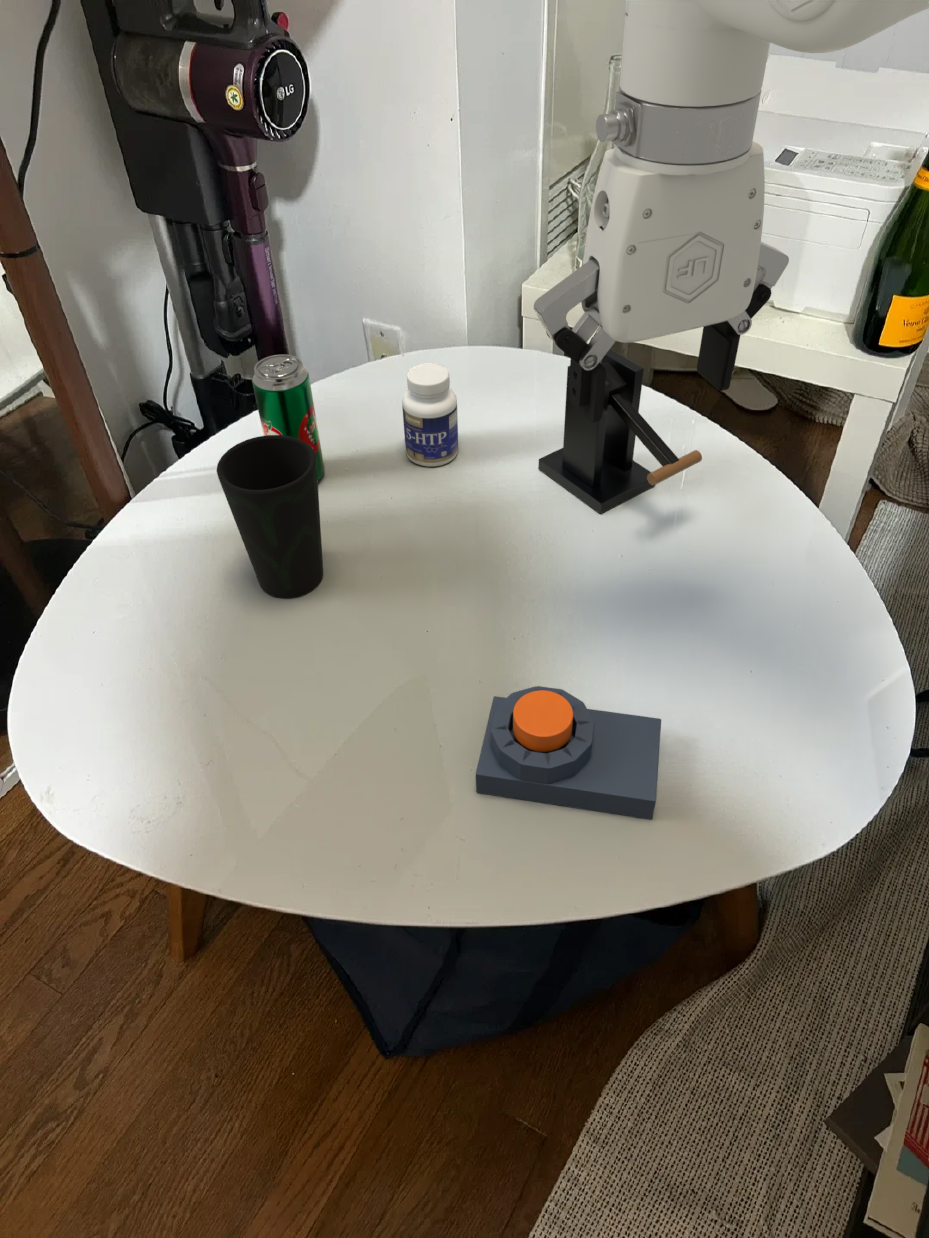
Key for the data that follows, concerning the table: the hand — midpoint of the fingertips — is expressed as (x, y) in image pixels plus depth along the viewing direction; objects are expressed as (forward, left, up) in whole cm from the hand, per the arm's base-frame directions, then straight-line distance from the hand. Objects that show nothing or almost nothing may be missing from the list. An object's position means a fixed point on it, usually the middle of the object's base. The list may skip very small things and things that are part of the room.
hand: (650, 396), depth 63 cm
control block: (+3, +17, -19) cm, 26 cm away
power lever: (+1, -14, -12) cm, 19 cm away
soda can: (+33, -12, -20) cm, 40 cm away
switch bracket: (+4, -17, -19) cm, 26 cm away
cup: (+29, +2, -20) cm, 35 cm away
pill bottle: (+21, -18, -20) cm, 34 cm away
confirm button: (+5, +17, -16) cm, 24 cm away
